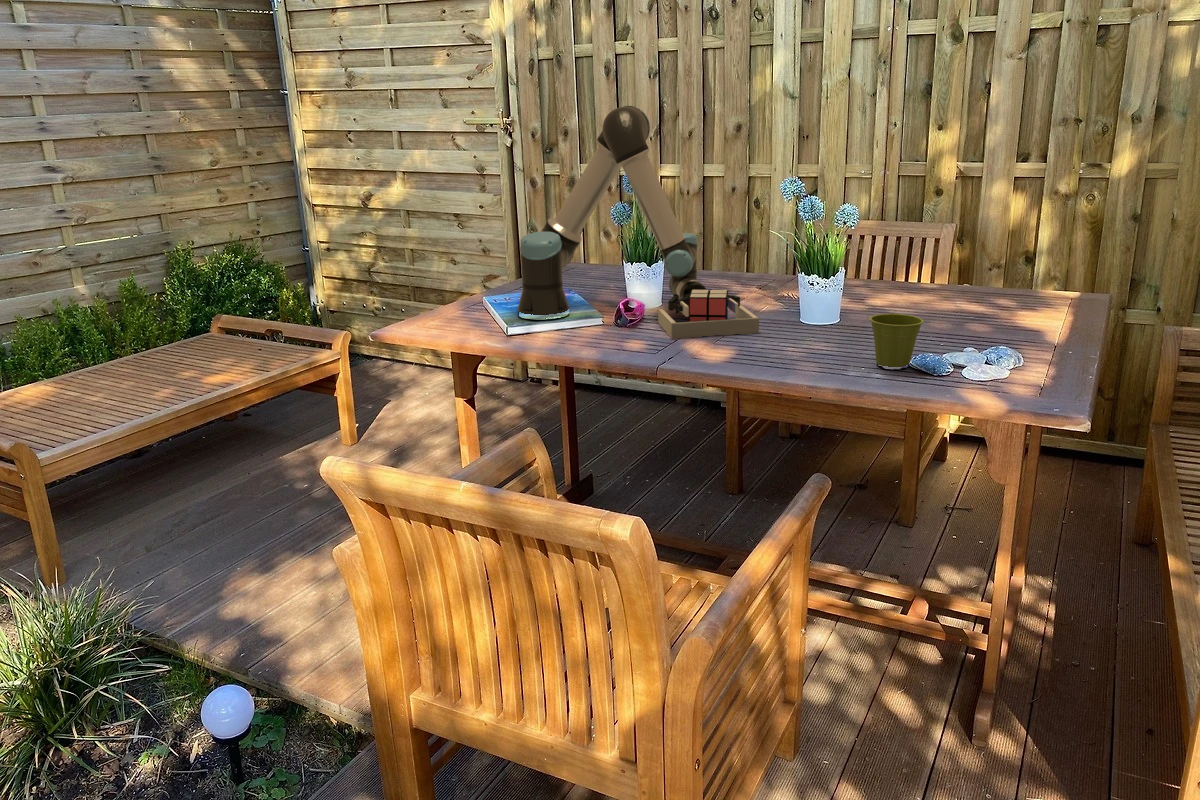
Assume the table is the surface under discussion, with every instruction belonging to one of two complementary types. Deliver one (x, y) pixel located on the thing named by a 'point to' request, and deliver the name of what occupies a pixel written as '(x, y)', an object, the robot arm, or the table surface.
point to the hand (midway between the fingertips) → (712, 310)
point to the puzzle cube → (708, 305)
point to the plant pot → (894, 338)
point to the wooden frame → (710, 325)
